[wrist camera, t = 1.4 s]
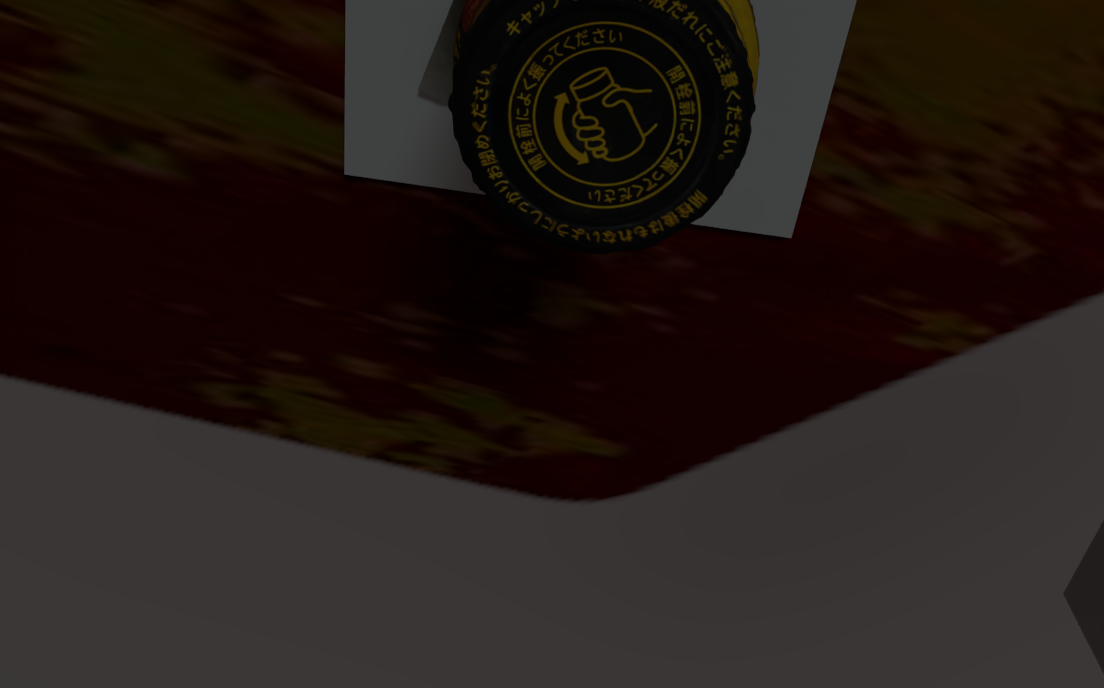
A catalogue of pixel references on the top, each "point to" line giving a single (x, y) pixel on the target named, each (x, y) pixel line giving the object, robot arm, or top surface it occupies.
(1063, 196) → the top surface
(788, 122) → the sheet
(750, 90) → the condiment
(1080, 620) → the robot arm
